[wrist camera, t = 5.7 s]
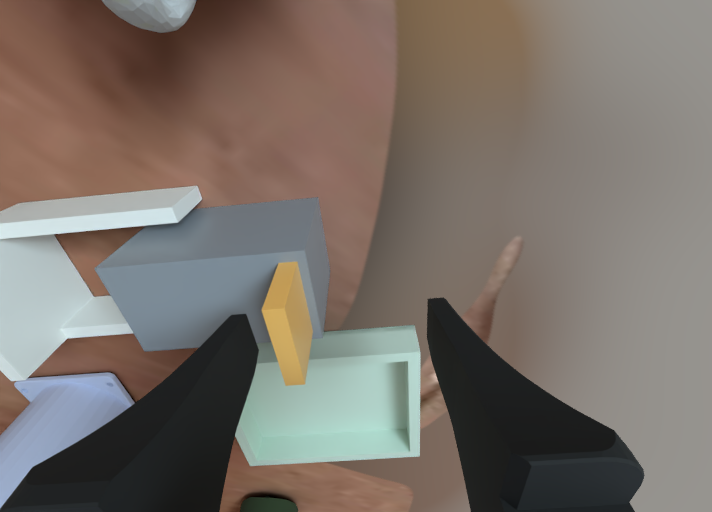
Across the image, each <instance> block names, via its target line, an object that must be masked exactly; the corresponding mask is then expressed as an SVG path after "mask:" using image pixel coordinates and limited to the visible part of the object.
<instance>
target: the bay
mask: <svg viewBox="0 0 712 512" xmlns="http://www.w3.org/2000/svg"><path fill="white" fill-rule="evenodd" d="M201 200H202V197H201V194H200V192H199V189H198V186H189V187H179V188H169V189H159V190H148V191H138V192H128V193H118V194H107V195H97V196H87V197H77V198H66V199H56V200H46V201H36V202H25V203H18V204H16V205H14V206H12V207H9V208H7V209H5V210H3V211H0V370H1V371H2V372H3V374H4V375H5V376H6V377H7V378H8V379H9V380H10V381H21V380H26V379H27V378H28V377H29V376H30V375H31V374H32V373H33V372H34V371H35V370H36V369H37V368H38V367H39V366H40V365H41V364H42V363H43V362H44V361H45V360H46V359H47V358H48V357H49V356H50V355H51V354H52V353H53V352H54V351H55V350H56V349H57V348H58V347H59V346H60V345H61V344H62V343H63V342H64V341H65V340H66V339H67V338H79V337H92V336H105V335H118V334H131V333H133V331H132V330H131V328H130V326H129V325H128V323H127V321H126V320H125V318H124V317H123V315H122V313H121V312H120V310H119V308H118V307H117V305H116V303H115V302H114V300H113V298H112V297H111V296H99V297H94V296H93V295H92V293H91V291H90V290H89V288H88V287H87V285H86V284H85V282H84V281H83V279H82V277H81V276H80V274H79V273H78V271H77V270H76V268H75V267H74V265H73V263H72V262H71V260H70V259H69V257H68V256H67V254H66V253H65V251H64V249H63V248H62V246H61V245H60V243H59V242H58V240H57V239H56V237H55V235H54V234H60V233H71V232H82V231H93V230H104V229H114V228H125V227H136V226H147V225H157V224H168V223H178V222H179V221H180V220H181V219H182V218H183V217H184V216H185V215H187V214H188V213H189V212H190V211H191V210H192V209H193V208H194V207H195V206H196V205H197V204H198V203H199V202H200V201H201Z"/></svg>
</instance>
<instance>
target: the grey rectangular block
mask: <svg viewBox="0 0 712 512" xmlns="http://www.w3.org/2000/svg"><path fill="white" fill-rule="evenodd" d="M95 271H96V272H97V274H98V275H99V277H100V279H101V280H102V282H103V284H104V285H105V287H106V289H107V290H108V292H109V294H110V295H111V297H112V298H113V300H114V302H115V303H116V305H117V307H118V308H119V310H120V312H121V313H122V315H123V317H124V318H125V320H126V321H127V323H128V325H129V326H130V328H131V330H132V331H133V333H134V335H135V336H136V338H137V340H138V341H139V343H140V344H141V346H142V348H143V349H144V351H159V350H172V349H186V348H199V347H200V346H201V345H202V344H203V343H204V342H205V341H206V340H207V339H208V338H209V337H210V336H211V335H212V334H213V333H214V332H215V331H216V330H217V329H218V328H219V327H220V326H221V325H222V324H223V323H224V321H225V320H226V319H227V318H228V317H230V316H231V315H236V314H246V315H247V318H248V320H249V323H250V326H251V329H252V332H253V335H254V337H255V340H256V343H266V342H272V345H273V348H274V351H275V354H276V357H277V360H278V363H279V367H280V370H281V373H282V376H283V379H284V382H285V385H286V386H290V385H305V382H306V375H307V369H308V362H309V355H310V348H311V342H312V339H320V338H323V332H324V323H325V314H326V305H327V296H328V287H329V278H330V266H329V260H328V254H327V248H326V242H325V236H324V230H323V224H322V218H321V212H320V206H319V200H318V197H316V198H306V199H295V200H285V201H274V202H263V203H253V204H242V205H232V206H221V207H210V208H200V209H192V210H191V211H190V212H189V213H188V214H187V215H185V216H184V217H183V218H182V219H181V220H180V221H179V222H178V223H168V224H157V225H147V226H145V227H144V228H143V229H142V230H141V231H139V232H138V233H137V234H136V235H134V236H133V237H132V238H131V239H130V240H128V241H127V242H126V243H125V244H124V245H122V246H121V247H120V248H119V249H118V250H116V251H115V252H114V253H113V254H111V255H110V256H109V257H108V258H107V259H105V260H104V261H103V262H102V263H101V264H99V265H98V266H97V267H96V268H95Z"/></svg>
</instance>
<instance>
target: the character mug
mask: <svg viewBox="0 0 712 512" xmlns="http://www.w3.org/2000/svg"><path fill="white" fill-rule="evenodd" d="M240 512H298V508H297V506H296V504H295V503H293V502H291V501H288V500H284V499H278V498H270V497H269V496H265V498H260V497H250V498H248V499H246V500H244V501H243V502H242V505H241V508H240Z"/></svg>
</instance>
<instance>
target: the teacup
mask: <svg viewBox="0 0 712 512" xmlns="http://www.w3.org/2000/svg"><path fill="white" fill-rule="evenodd" d="M102 1H103V3H104V4H105V5H106V6H107V7H108V8H109V9H110V10H111V11H112V12H114V13H115V14H116V15H117V16H118V17H120V18H121V19H123V20H125V21H126V22H128V23H130V24H132V25H134V26H136V27H139V28H141V29H146V30H150V31H154V32H159V33H164V32H171V31H176V30H178V29H179V28H180V27H181V26H183V25H184V24H185V23H186V22H187V20H188V18H189V17H190V15H191V13H192V11H193V9H194V6H195V3H196V1H197V0H102Z"/></svg>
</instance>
